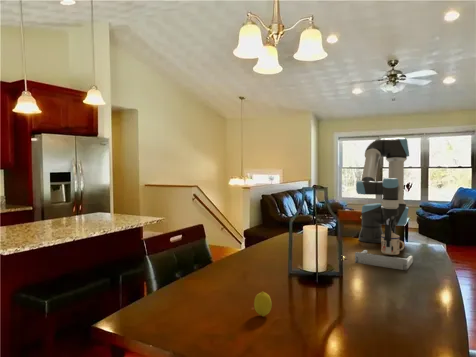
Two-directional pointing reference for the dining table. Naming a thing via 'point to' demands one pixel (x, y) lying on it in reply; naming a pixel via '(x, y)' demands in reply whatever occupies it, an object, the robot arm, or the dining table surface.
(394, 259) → the aluminium dock
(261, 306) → the lemon
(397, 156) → the robot arm
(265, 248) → the dining table surface
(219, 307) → the dining table surface
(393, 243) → the teacup with lid
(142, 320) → the dining table surface
